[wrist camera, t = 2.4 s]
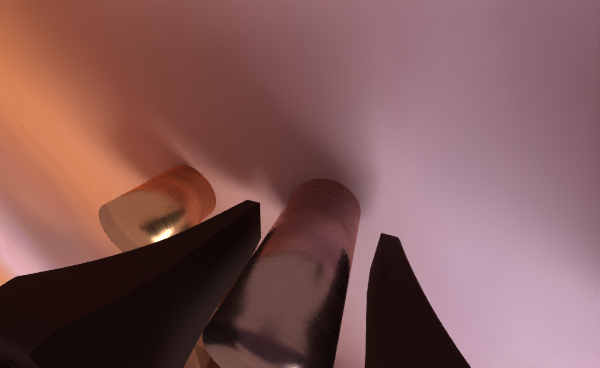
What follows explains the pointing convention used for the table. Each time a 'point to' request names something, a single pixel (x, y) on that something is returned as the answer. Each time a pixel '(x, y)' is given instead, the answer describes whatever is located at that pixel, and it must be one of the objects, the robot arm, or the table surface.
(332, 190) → the long steel peg
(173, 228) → the short brass peg
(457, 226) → the table surface
